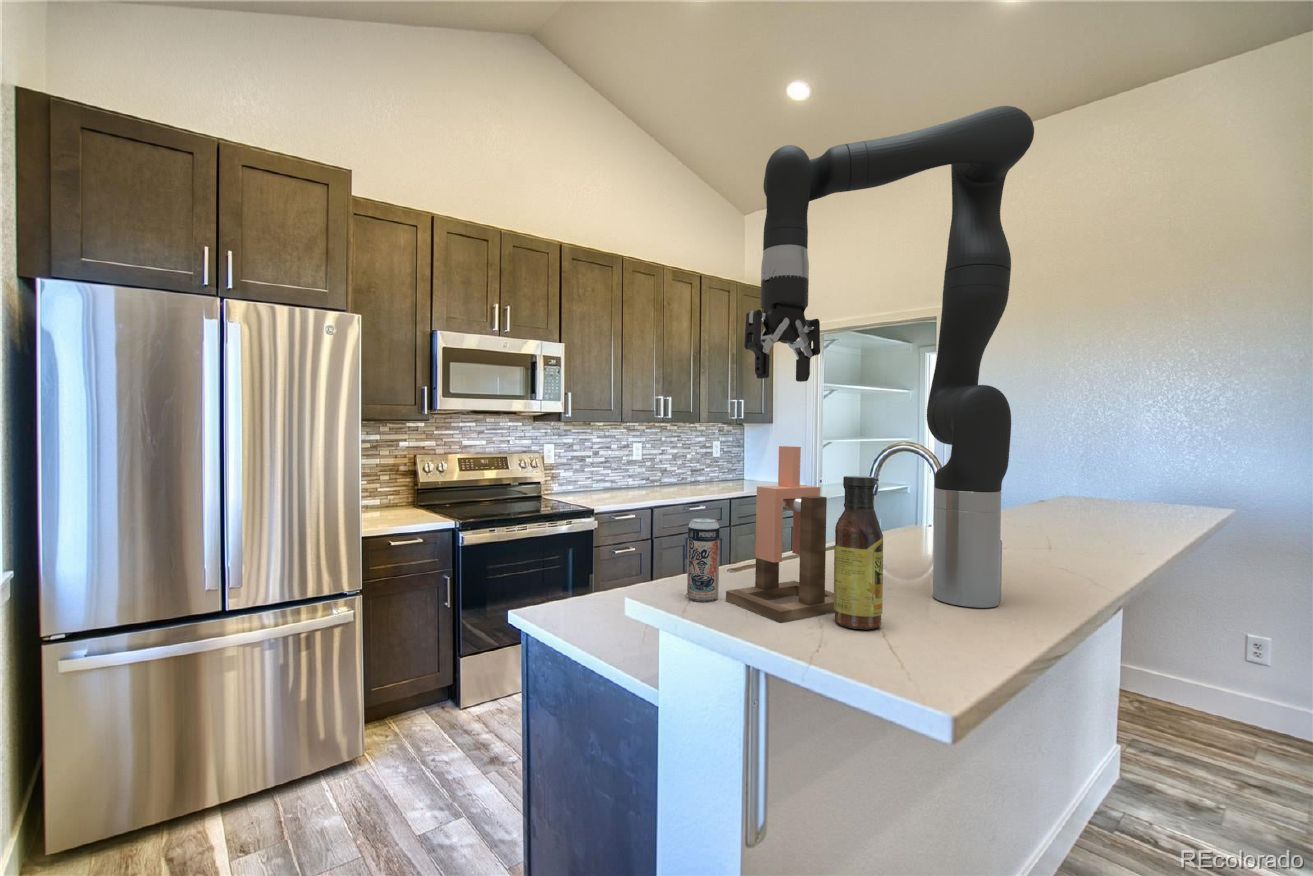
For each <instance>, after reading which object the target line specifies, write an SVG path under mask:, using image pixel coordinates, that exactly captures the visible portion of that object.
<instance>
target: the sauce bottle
mask: <svg viewBox="0 0 1313 876" xmlns="http://www.w3.org/2000/svg"><path fill="white" fill-rule="evenodd" d="M842 481H843V484H842V485H843V489H844V503H843V507H844V511H842V514H841V515H840V517H838V519H837V521H836V523H835V528H834V532H835V534H834V535H835V536H834V537H835V539H834V540H835V543H834V549H833V554H834V556H833V557H834V559H833V566H834V567H833V593H834V610H835V612H834V615H833V616H834V617H833V618H834V621H835V622H836V623H837V624H838V625H840V626H843V627H845V628H849V629H854V630H855V629H856V630H867V631H868V630H873V629H877V628H879V627H880V626H881V624H882V615H883V608H884V607H883V602H884V601H883V600H884V599H883V597H884V596H883V594H884V591H883V590H884V589H883V587H884V585H883V584H884V535H883V532H882V531H883V530H882V529H881V526H880V522H879V519H878V517H877V514H876V512H875V508H874V507H875V504H874V489H875V487H876V478H875V476H868V475H844V476H843V480H842Z"/></svg>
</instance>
